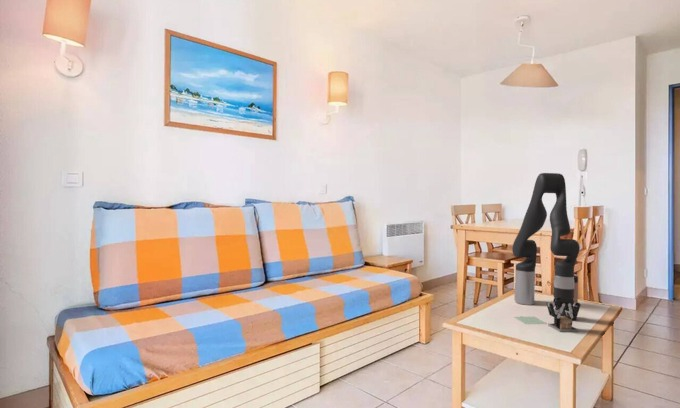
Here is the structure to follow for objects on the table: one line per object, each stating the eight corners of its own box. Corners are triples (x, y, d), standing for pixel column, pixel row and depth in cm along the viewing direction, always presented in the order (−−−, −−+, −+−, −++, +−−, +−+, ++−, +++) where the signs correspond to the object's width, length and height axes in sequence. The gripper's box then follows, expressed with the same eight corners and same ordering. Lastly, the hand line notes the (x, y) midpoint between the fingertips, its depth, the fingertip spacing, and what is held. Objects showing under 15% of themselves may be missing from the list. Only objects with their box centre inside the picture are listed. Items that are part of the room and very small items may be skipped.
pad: (513, 317, 177) (513, 316, 177) (534, 317, 177) (534, 316, 177) (525, 325, 167) (525, 324, 167) (547, 324, 167) (547, 323, 167)
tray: (548, 326, 165) (548, 323, 165) (565, 326, 166) (565, 323, 166) (560, 332, 157) (560, 330, 157) (578, 332, 158) (578, 329, 158)
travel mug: (567, 322, 170) (568, 277, 170) (553, 317, 178) (554, 274, 177) (581, 321, 173) (582, 277, 172) (567, 315, 180) (568, 273, 179)
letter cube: (554, 326, 164) (554, 316, 163) (564, 326, 164) (564, 315, 164) (561, 330, 159) (561, 319, 159) (571, 330, 159) (572, 319, 159)
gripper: (574, 284, 165) (573, 323, 166) (542, 284, 164) (541, 323, 165) (586, 288, 158) (585, 329, 158) (553, 288, 157) (552, 329, 157)
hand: (563, 326), depth 161 cm, fingers closed on letter cube, 4 cm apart
